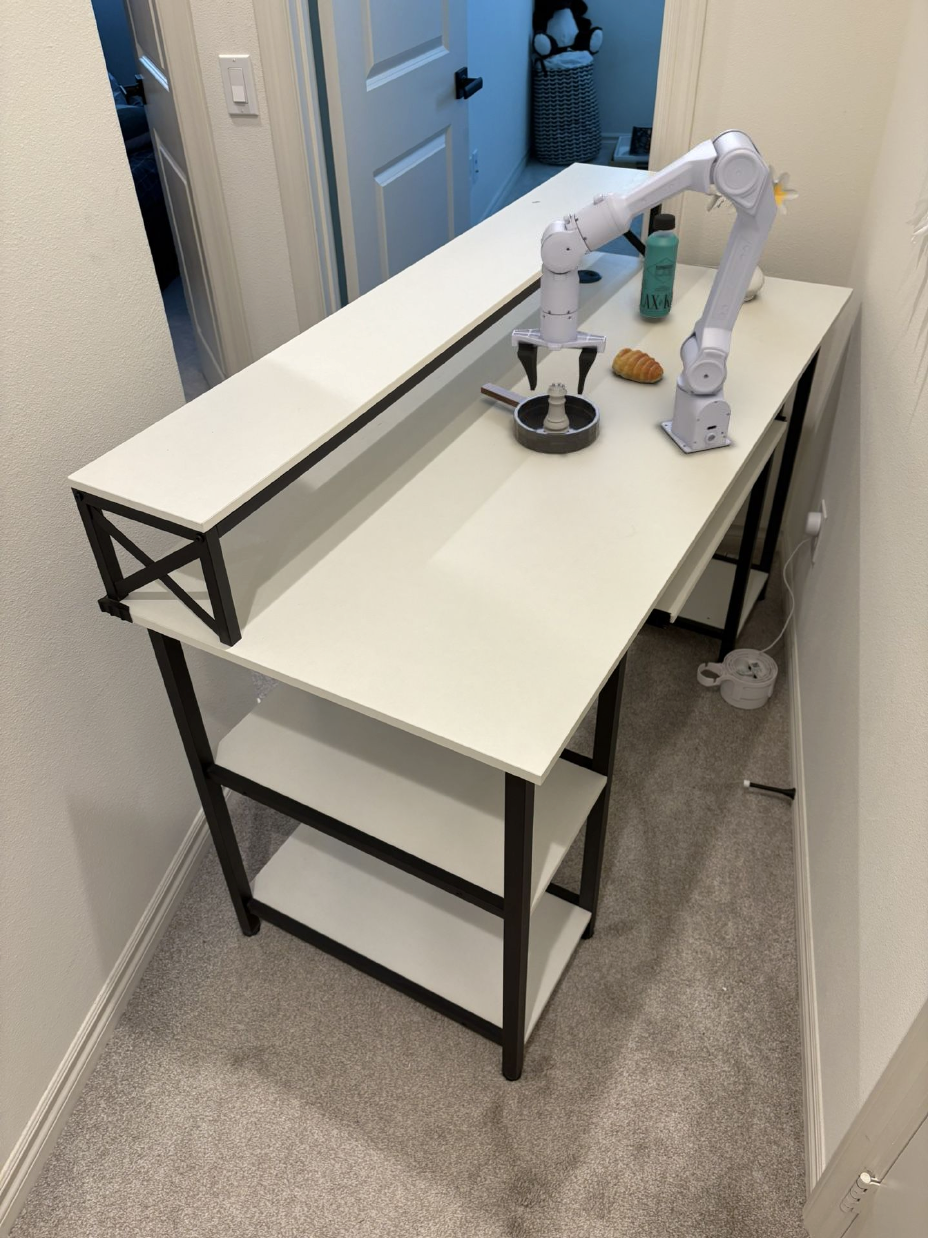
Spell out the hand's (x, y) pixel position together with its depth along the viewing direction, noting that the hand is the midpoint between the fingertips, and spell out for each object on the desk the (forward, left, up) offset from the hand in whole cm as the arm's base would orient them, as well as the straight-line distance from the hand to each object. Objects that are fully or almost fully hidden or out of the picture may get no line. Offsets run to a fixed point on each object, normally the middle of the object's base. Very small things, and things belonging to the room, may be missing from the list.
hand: (556, 389), depth 144 cm
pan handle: (+10, +6, -6) cm, 13 cm away
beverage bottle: (+36, -34, -8) cm, 50 cm away
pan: (0, 0, -8) cm, 8 cm away
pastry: (+15, -21, -8) cm, 27 cm away
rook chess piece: (0, 0, -8) cm, 8 cm away
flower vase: (+40, -54, -8) cm, 68 cm away
